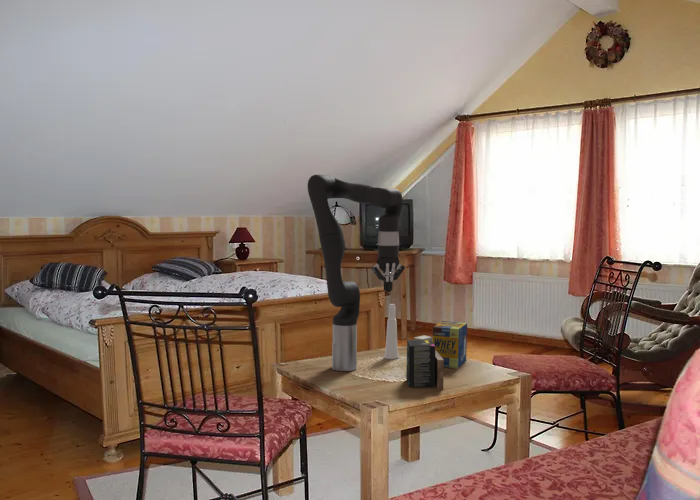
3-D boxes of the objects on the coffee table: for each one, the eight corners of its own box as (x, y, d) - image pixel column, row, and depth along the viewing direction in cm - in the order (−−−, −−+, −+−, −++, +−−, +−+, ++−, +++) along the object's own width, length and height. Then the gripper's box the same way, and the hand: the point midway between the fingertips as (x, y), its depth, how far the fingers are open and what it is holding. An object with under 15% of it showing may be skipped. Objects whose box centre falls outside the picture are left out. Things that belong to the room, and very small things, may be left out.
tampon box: (435, 388, 231) (436, 345, 230) (408, 388, 231) (409, 345, 230) (431, 379, 242) (432, 339, 241) (406, 379, 242) (406, 339, 241)
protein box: (431, 366, 262) (432, 326, 261) (441, 358, 276) (442, 320, 275) (458, 369, 258) (459, 328, 257) (466, 360, 273) (467, 322, 272)
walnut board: (437, 388, 230) (437, 359, 229) (428, 375, 248) (429, 348, 247) (443, 388, 230) (443, 359, 229) (434, 375, 248) (434, 348, 247)
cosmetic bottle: (398, 359, 273) (399, 305, 271) (383, 359, 274) (384, 305, 272) (399, 356, 279) (400, 303, 277) (384, 355, 280) (385, 303, 278)
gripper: (400, 243, 249) (399, 289, 250) (367, 243, 244) (366, 291, 245) (409, 244, 242) (409, 292, 243) (376, 245, 237) (375, 294, 238)
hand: (387, 291), depth 244 cm, fingers closed
